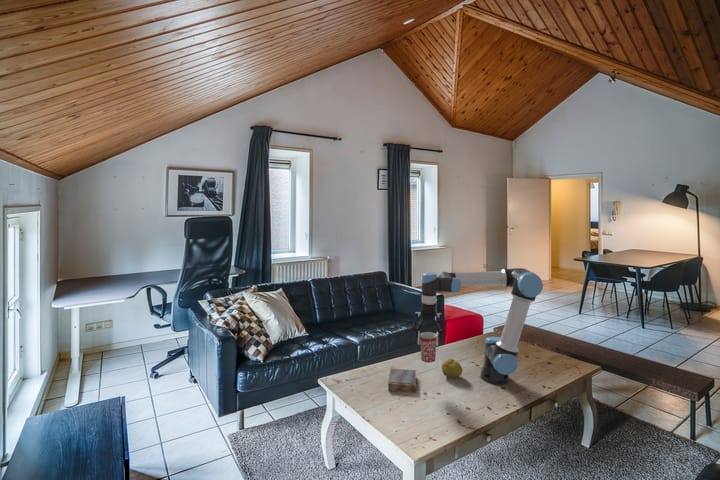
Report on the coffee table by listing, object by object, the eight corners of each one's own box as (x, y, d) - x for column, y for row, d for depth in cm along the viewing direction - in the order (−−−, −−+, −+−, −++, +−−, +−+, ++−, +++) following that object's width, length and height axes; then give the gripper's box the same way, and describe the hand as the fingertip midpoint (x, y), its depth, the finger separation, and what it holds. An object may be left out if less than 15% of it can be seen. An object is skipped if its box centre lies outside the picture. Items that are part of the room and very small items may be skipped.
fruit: (445, 382, 210) (446, 365, 209) (438, 373, 222) (438, 356, 220) (465, 381, 212) (465, 364, 211) (456, 372, 223) (457, 355, 222)
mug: (439, 362, 199) (439, 337, 197) (422, 364, 197) (422, 338, 196) (431, 353, 211) (431, 329, 210) (415, 354, 210) (415, 330, 208)
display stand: (415, 377, 217) (415, 369, 216) (415, 392, 199) (415, 384, 198) (390, 375, 219) (390, 367, 218) (388, 390, 201) (388, 382, 200)
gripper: (449, 301, 203) (448, 342, 205) (408, 299, 206) (407, 340, 209) (450, 305, 196) (449, 348, 198) (407, 303, 199) (406, 345, 201)
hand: (427, 344), depth 203 cm, fingers closed on mug, 9 cm apart
